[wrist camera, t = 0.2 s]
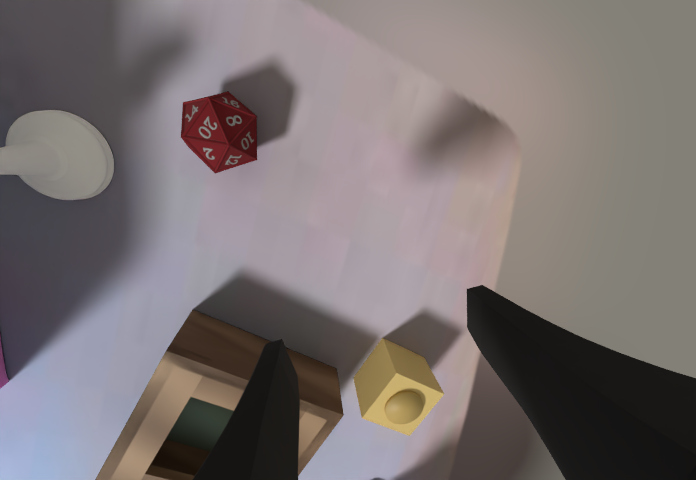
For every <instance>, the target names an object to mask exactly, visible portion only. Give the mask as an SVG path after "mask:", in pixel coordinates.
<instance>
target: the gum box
mask: <svg viewBox="0 0 696 480" xmlns="http://www.w3.org/2000/svg"><path fill="white" fill-rule="evenodd" d="M8 382H9V380H8V377H7V374H6V370H5V364H4V358H3V352H2V346H1V334H0V388H2V387H3V386H4V385H5V384H6V383H8Z"/></svg>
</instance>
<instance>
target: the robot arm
mask: <svg viewBox="0 0 696 480" xmlns="http://www.w3.org/2000/svg"><path fill="white" fill-rule="evenodd" d="M467 328H468V330H469V332H470V334H471V335H472V337H473V339H474V341H475V343H476V344H477V346H478V348H479V349H480V351H481V353H482V354H483V356H484V357H485V358H486V360H487V361H488V362H489V364H490V365H491V367H492V368H493V369H494V371H495V372H496V373H497V375H498V376H499V377H500V379H501V380H502V381H503V383H504V384H505V386H506V387H507V388H508V390H509V391H510V392H511V393H512V395H513V396H514V398H515V399H516V400H517V402H518V403H519V405H520V406H521V407H522V409H523V410H524V412H525V413H526V415H527V416H528V418H529V419H530V421H531V422H532V424H533V426H534V427H535V429H536V430H537V432H538V433H539V435H540V437H541V439H542V440H543V442H544V444H545V445H546V447H547V449H548V450H549V452H550V454H551V455H552V457H553V459H554V460H555V462H556V464H557V466H558V467H559V469H560V470H561V472H562V474H563V476H564V477H565V479H566V480H696V378H693V377H689V376H686V375H683V374H679V373H676V372H673V371H670V370H666V369H664V368H660V367H658V366H655V365H652V364H649V363H646V362H644V361H640V360H638V359H635V358H632V357H629V356H627V355H624V354H621V353H619V352H616V351H613V350H611V349H609V348H606V347H604V346H601V345H599V344H596V343H594V342H592V341H589V340H586V339H584V338H582V337H580V336H578V335H575V334H573V333H571V332H569V331H567V330H565V329H563V328H561V327H559V326H557V325H555V324H552V323H551V322H549V321H546V320H544V319H543V318H541V317H539V316H537V315H535V314H533V313H531V312H529V311H527V310H526V309H523V308H522V307H520V306H518V305H517V304H515V303H513V302H511V301H510V300H508V299H506V298H504V297H502V296H501V295H499V294H497V293H495V292H494V291H492V290H490V289H488V288H487V287H485V286H483V285H480V286H477V287H473V288H469V289H467ZM299 418H300V399H299V387H298V376H297V373H296V371H295V368H294V366H293V364H292V361H291V359H290V357H289V355H288V352H287V350H286V348H285V345H284V343H283V341H282V339H281V340H278V341H274V342H270V343H267V344H265V346H264V348H263V350H262V352H261V355H260V357H259V359H258V362H257V364H256V366H255V368H254V371H253V373H252V375H251V377H250V379H249V382H248V384H247V386H246V388H245V390H244V392H243V394H242V396H241V398H240V400H239V402H238V404H237V406H236V408H235V410H234V412H233V413H232V415H231V417H230V419H229V421H228V423H227V424H226V426H225V428H224V430H223V432H222V433H221V435H220V437H219V439H218V440H217V442H216V444H215V445H214V447H213V449H212V450H211V452H210V453H209V455H208V457H207V458H206V460H205V461H204V463H203V465H202V466H201V468H200V469H199V471H198V472H197V473H196V475H195V476H194V478H193V479H192V480H298V453H299Z"/></svg>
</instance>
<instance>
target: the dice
mask: <svg viewBox="0 0 696 480" xmlns="http://www.w3.org/2000/svg"><path fill="white" fill-rule="evenodd" d="M256 119H257V116H256V115H255V114H254V113H252V112H251V111H250V110H249V109H248V108H247V107H245V106H244V105H243V104H242V103H241V102H240V101H238V100H237V99H236V98H235V97H234V96H233V95H232V94H230V93H229V92H224V93H221V94H217V95H213V96H209V97H204V98H200V99H196V100H192V101H187V102H183V113H182V130H181V138H182V139H183V140H184V142H185V143H186V144H187V146H188V147H189V148H190V149H191V150H192V151H193V152H194V153H195V154H196V155H197V156H198V157H199V158H200V159H201V160H202V161H203V162H204V163H205V164H206V165H207V166H208V167H209V168H210V169H211V170H212V171H213V172H214V173H218V172H221V171H224V170H227V169H230V168H233V167H236V166H239V165H242V164H245V163H248V162H251V161H255V160H257V123H256Z"/></svg>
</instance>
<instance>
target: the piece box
mask: <svg viewBox="0 0 696 480" xmlns="http://www.w3.org/2000/svg"><path fill="white" fill-rule="evenodd" d="M267 343H270V341H268V340H266V339H263V338H261V337H258V336H256V335H253V334H251V333H249V332H246V331H244V330H241V329H239V328H237V327H234V326H232V325H229V324H227V323H224V322H222V321H220V320H217V319H215V318H212V317H210V316H207V315H205V314H203V313H200V312H198V311H195V310H192V312H191V313H190V315H189V316H188V318H187V319H186V321H185V322H184V324H183V325H182V327H181V329H180V330H179V332H178V333H177V335H176V336H175V338H174V339H173V341H172V343H171V344H170V346H169V347H168V349H167V350H166V352H165V354H164V356H163V358H162V359H161V361H160V363H159V365H158V367H157V368H156V370H155V372H154V374H153V376H152V378H151V379H150V381H149V383H148V385H147V387H146V388H145V390H144V392H143V394H142V396H141V398H140V399H139V401H138V403H137V405H136V407H135V408H134V410H133V412H132V414H131V416H130V418H129V419H128V421H127V423H126V425H125V427H124V428H123V430H122V432H121V434H120V436H119V438H118V439H117V441H116V443H115V445H114V447H113V448H112V450H111V452H110V454H109V456H108V458H107V459H106V461H105V463H104V465H103V467H102V468H101V470H100V472H99V474H98V476H97V478H96V479H95V480H192V479H193V478H194V476H195V475H196V473H197V472H198V471H199V469H200V468H201V466H202V465H203V463H204V461H205V460H206V458H207V457H208V455H209V453H210V452H211V450H212V449H213V447H214V445H215V444H216V442H217V440H218V439H219V437H220V435H221V433H222V432H223V430H224V428H225V426H226V424H227V423H228V421H229V419H230V417H231V415H232V413H233V412H234V410H235V408H236V406H237V404H238V402H239V400H240V398H241V396H242V394H243V392H244V390H245V388H246V386H247V384H248V382H249V379H250V377H251V375H252V373H253V371H254V368H255V366H256V364H257V362H258V359H259V357H260V355H261V352H262V350H263V348H264V346H265V344H267ZM286 350H287V352H288V355H289V357H290V359H291V361H292V364H293V366H294V368H295V371H296V373H297V376H298V387H299V399H300V418H299V453H298V476H299V474H300V473H301V471H302V470H303V469H304V467H305V466H306V465H307V463H308V462H309V461H310V459H311V458H312V457H313V455H314V454H315V453H316V451H317V450H318V449H319V447H320V446H321V445H322V443H323V442H324V441H325V439H326V438H327V437H328V435H329V434H330V433H331V431H332V430H333V429H334V427H335V426H336V425H337V423H338V422H339V421H340V419H341V418H342V417H343V408H342V402H341V395H340V388H339V381H338V375H337V369H336V368H333V367H331V366H329V365H326V364H324V363H321V362H319V361H316V360H314V359H312V358H309V357H307V356H304V355H302V354H299V353H297V352H295V351H292V350H290V349H287V348H286Z"/></svg>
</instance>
